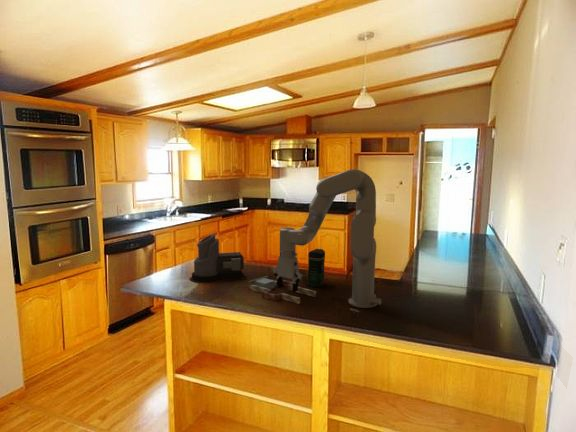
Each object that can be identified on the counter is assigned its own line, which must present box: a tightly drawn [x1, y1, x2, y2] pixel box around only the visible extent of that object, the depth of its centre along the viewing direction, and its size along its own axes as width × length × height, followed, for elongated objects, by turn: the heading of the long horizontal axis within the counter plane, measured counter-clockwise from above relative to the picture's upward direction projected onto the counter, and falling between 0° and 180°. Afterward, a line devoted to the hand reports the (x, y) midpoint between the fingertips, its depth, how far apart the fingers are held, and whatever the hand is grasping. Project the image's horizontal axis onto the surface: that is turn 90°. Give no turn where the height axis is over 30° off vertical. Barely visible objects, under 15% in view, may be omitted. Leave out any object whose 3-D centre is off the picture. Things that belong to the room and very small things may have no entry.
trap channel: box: [247, 275, 317, 305], centre depth 186 cm, size 32×21×4 cm
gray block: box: [255, 278, 275, 290], centre depth 193 cm, size 7×7×4 cm
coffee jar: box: [307, 248, 326, 288], centre depth 198 cm, size 10×8×19 cm
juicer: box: [188, 233, 247, 284], centre depth 209 cm, size 30×16×24 cm, turn 106°
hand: (287, 289), depth 183 cm, fingers open, 9 cm apart
